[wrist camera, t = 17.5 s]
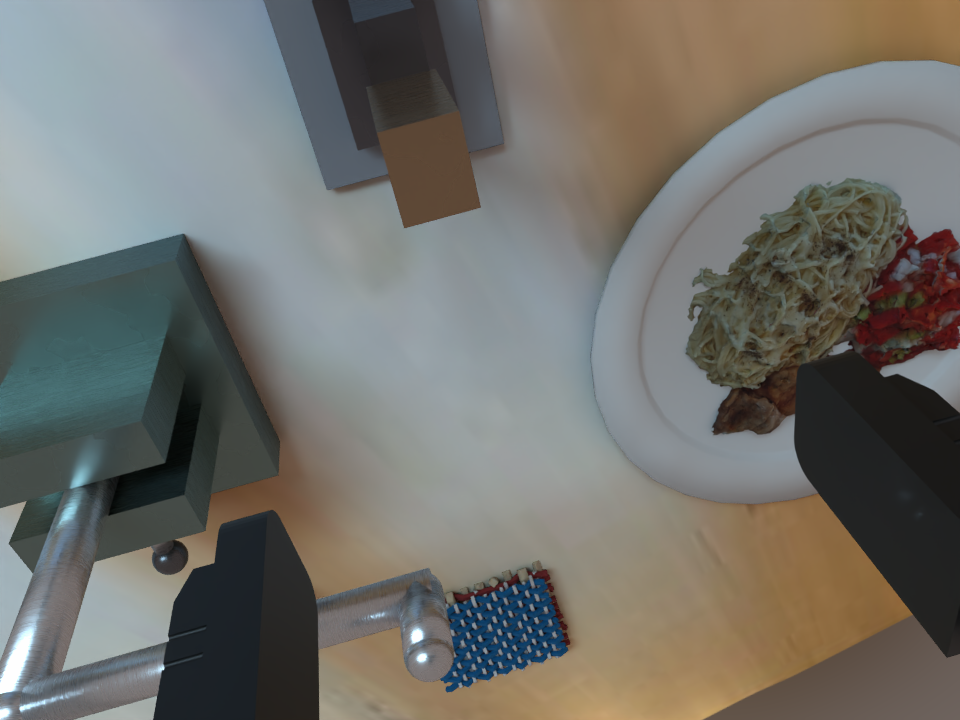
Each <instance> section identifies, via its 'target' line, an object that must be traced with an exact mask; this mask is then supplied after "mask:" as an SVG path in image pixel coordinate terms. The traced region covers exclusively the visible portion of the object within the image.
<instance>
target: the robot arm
mask: <svg viewBox="0 0 960 720" xmlns="http://www.w3.org/2000/svg"><path fill="white" fill-rule="evenodd" d="M794 446H795V451H796V455H797V458H798V461H799V464H800V466H801V468H802V470H803V472H804V474H805V476H806V477H807V479H808V480H809V482H810V483H811V484H812V486H813V487H814V488H815V489H816V491H817V492H818V493H819V494H820V496H821V497H822V498H823V500H824V501H825V502H826V503H827V505H828V506H829V507H830V509H831V510H832V511H833V512H834V514H835V515H836V516H837V518H838V519H839V520H840V521H841V523H842V524H843V525H844V527H845V528H846V529H847V530H848V532H849V533H850V534H851V536H852V537H853V538H854V539H855V541H856V542H857V543H858V544H859V546H860V547H861V548H862V550H863V551H864V552H865V553H866V555H867V556H868V557H869V559H870V560H871V561H872V562H873V564H874V565H875V566H876V568H877V569H878V570H879V571H880V573H881V574H882V575H883V577H884V578H885V579H886V580H887V582H888V583H889V584H890V585H891V587H892V588H893V589H894V591H895V592H896V593H897V594H898V596H899V597H900V598H901V600H902V601H903V602H904V603H905V605H906V606H907V607H908V609H909V610H910V611H911V612H912V614H913V615H914V616H915V618H916V619H917V620H918V621H919V622H920V624H921V625H922V626H923V628H924V629H925V630H926V632H927V633H928V634H929V635H930V637H931V638H932V639H933V641H934V642H935V643H936V644H937V646H938V647H939V648H940V650H941V651H942V652H943V653H944V654H945V656H946V657H951V656H954V655H958V654H960V413H959V412H958V411H957V410H956V409H955V408H954V407H952V406H951V405H950V404H949V403H948V402H947V401H946V400H945V399H943V398H942V397H941V396H940V395H939V394H938V393H937V392H935V391H934V390H932V389H930V388H928V387H926V386H924V385H921V384H919V383H917V382H915V381H913V380H910V379H908V378H906V377H904V376H902V375H900V374H894V375H891V376H887V377H884V376H883V375H881V374H880V373H879V372H878V371H877V370H876V369H875V368H874V367H873V366H872V365H871V364H870V363H869V362H868V361H867V360H865V359H864V358H863V357H862V356H861V355H860V354H858V353H857V352H854V351H847V352H843V353H839V354H836V355H832V356H829V357H825V358H821V359H818V360H814V361H811V362H807V363H804V364H801V365H800V366H799V368H798V371H797V377H796V400H795V424H794ZM168 637H169V642H167V644H166V650H165V656H164V661H163V664H164V670H162V673H161V678H160V684H159V690H158V695H157V701H156V707H155V712H154V718H153V720H319V659H318V611H317V604H316V598H315V594H314V590H313V586H312V583H311V580H310V578H309V575H308V573H307V571H306V569H305V567H304V565H303V563H302V561H301V559H300V557H299V555H298V553H297V551H296V549H295V547H294V545H293V543H292V541H291V539H290V537H289V535H288V533H287V531H286V529H285V527H284V525H283V523H282V521H281V519H280V518H279V516H278V515H277V513H276V512H275V511H273V510H270V511H266V512H263V513H259V514H255V515H252V516H248V517H245V518H241V519H237V520H234V521H230V522H227V523H223V524H222V525H221V526H220V529H219V533H218V540H217V547H216V555H215V563H213V564H210V565H206V566H203V567H199V568H196V569H193V570H192V572H191V574H190V576H189V577H188V579H187V581H186V582H185V584H184V586H183V588H182V589H181V591H180V593H179V594H178V596H177V598H176V599H175V601H174V605H173V610H172V616H171V622H170V627H169V633H168Z"/></svg>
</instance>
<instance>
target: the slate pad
mask: <svg viewBox="0 0 960 720" xmlns="http://www.w3.org/2000/svg"><path fill="white" fill-rule="evenodd" d="M264 2H265V5H266V8H267V11H268V14H269V17H270V20H271V23H272V26H273V29H274V32H275V35H276V38H277V41H278V44H279V47H280V50H281V53H282V56H283V59H284V62H285V65H286V68H287V71H288V74H289V77H290V80H291V83H292V86H293V89H294V92H295V95H296V98H297V101H298V104H299V107H300V110H301V113H302V116H303V119H304V122H305V125H306V128H307V131H308V134H309V137H310V140H311V143H312V146H313V149H314V152H315V155H316V158H317V161H318V164H319V167H320V170H321V173H322V176H323V179H324V182H325V185H326V188H327V190H330V189H334V188H338V187H341V186H345V185H349V184H353V183H357V182H360V181H364V180H368V179H372V178H376V177H379V176H383V175H387V174H388V170H387V167H386V163H385V160H384V156H383V153H382V149H381V146H380V145H377V146H373V147H370V148H366V149H362V150H359V151H358V150H357V146H356V143H355V140H354V137H353V134H352V130H351V127H350V124H349V121H348V117H347V114H346V111H345V108H344V104H343V101H342V98H341V95H340V91H339V88H338V85H337V82H336V78H335V75H334V72H333V69H332V65H331V62H330V59H329V56H328V52H327V49H326V46H325V43H324V39H323V36H322V33H321V30H320V26H319V23H318V20H317V17H316V13H315V10H314V7H313V4H312V0H264ZM434 3H435V7H436V12H437V16H438V21H439V25H440V30H441V34H442V38H443V43H444V47H445V52H446V56H447V61H448V65H449V70H450V74H451V79H452V83H453V88H454V92H455V96H456V101H457V105H458V110H459V112H460V117H461V121H462V126H463V130H464V135H465V139H466V144H467V148H468V153H470V152H474V151H478V150H482V149H486V148H489V147H493V146H497V145H501V144H504V141H503V136H502V130H501V125H500V120H499V114H498V109H497V104H496V99H495V93H494V88H493V83H492V77H491V72H490V67H489V61H488V56H487V51H486V45H485V40H484V35H483V29H482V24H481V19H480V13H479V8H478V3H477V0H434Z"/></svg>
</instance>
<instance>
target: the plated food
mask: <svg viewBox="0 0 960 720" xmlns="http://www.w3.org/2000/svg"><path fill="white" fill-rule="evenodd" d="M847 351H854V352H857V353H858V354H860V355H861V356H862V357H863V358H864V359H865V360H867V361H868V362H869V363H870V364H871V365H872V366H873V367H874V368H875V369H876V370H877V371H878V372H879V373H880V374H881V375H883V376H884V377H887V376H891V375H894V374H900V375H902V376H904V377H906V378H908V379H910V380H913V381H915V382H917V383H919V384H921V385H924V386H926V387H928V388H930V389H932V390H934V391H935V392H937V393H938V394H939V395H940V396H941V397H942V398H943V399H945V400H946V401H947V402H948V403H949V404H950V405H951V406H952V407H954V408H955V409H956V410H957V411H958V412H959V413H960V66H956V65H952V64H948V63H943V62H939V61H935V60H907V61H878V62H874V63H870V64H866V65H861V66H857V67H853V68H849V69H845V70H840V71H836V72H832V73H828V74H824V75H822V76H819V77H817V78H815V79H813V80H810V81H808V82H806V83H804V84H801V85H799V86H797V87H795V88H792V89H790V90H788V91H786V92H783V93H781V94H779V95H776V96H774V97H772V98H770V99H768V100H767V101H765V102H763V103H762V104H760V105H759V106H757V107H756V108H754V109H753V110H751V111H750V112H748V113H747V114H745V115H744V116H742V117H741V118H739V119H738V120H736V121H735V122H733V123H732V124H730V125H729V126H727V127H726V128H724V129H723V130H721V131H720V132H718V133H717V134H716V135H715V136H714V137H713V138H711V139H710V140H709V141H708V142H707V143H706V144H705V145H704V146H703V147H702V148H701V149H699V150H698V151H697V152H696V153H695V154H694V155H693V156H692V157H691V158H690V159H689V160H687V161H686V162H685V163H684V164H683V165H682V166H681V167H680V168H679V169H678V170H677V171H675V172H674V173H673V174H672V176H671V177H670V178H669V179H668V181H667V182H666V183H665V184H664V186H663V187H662V188H661V190H660V191H659V192H658V193H657V195H656V196H655V197H654V198H653V200H652V201H651V202H650V203H649V205H648V206H647V207H646V209H645V210H644V211H643V212H642V214H641V215H640V216H639V217H638V219H637V220H636V222H635V224H634V225H633V227H632V229H631V231H630V233H629V235H628V236H627V238H626V240H625V242H624V244H623V246H622V247H621V249H620V251H619V253H618V255H617V257H616V258H615V260H614V262H613V264H612V266H611V268H610V271H609V274H608V277H607V280H606V283H605V286H604V289H603V292H602V295H601V298H600V301H599V304H598V307H597V310H596V313H595V321H594V330H593V339H592V347H591V356H590V358H591V367H592V375H593V384H594V393H595V398H596V400H597V403H598V405H599V408H600V411H601V413H602V416H603V418H604V421H605V424H606V426H607V429H608V431H609V433H610V434H611V436H612V437H613V438H614V440H615V441H616V442H617V444H618V445H619V446H620V448H621V449H622V451H623V452H624V453H625V455H626V456H627V457H628V459H629V460H630V461H631V462H633V463H634V464H635V465H636V466H638V467H639V468H640V469H641V470H643V471H644V472H645V473H646V474H648V475H649V476H650V477H651V478H653V479H654V480H655V481H657V482H659V483H661V484H663V485H666V486H668V487H670V488H672V489H674V490H676V491H678V492H681V493H683V494H685V495H688V496H693V497H697V498H702V499H706V500H710V501H715V502H719V503H741V504H762V503H770V502H778V501H787V500H795V499H799V498H802V497H806V496H810V495H814V494H818V492H817V491H816V489H815V488H814V487H813V486H812V484H811V483H810V482H809V480H808V479H807V477H806V476H805V474H804V472H803V470H802V468H801V466H800V464H799V461H798V458H797V455H796V451H795V446H794V424H795V400H796V377H797V371H798V368H799V366H800V365H801V364H804V363H807V362H811V361H814V360H818V359H821V358H825V357H829V356H832V355H836V354H839V353H843V352H847Z"/></svg>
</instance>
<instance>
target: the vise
mask: <svg viewBox="0 0 960 720" xmlns="http://www.w3.org/2000/svg"><path fill="white" fill-rule="evenodd" d="M279 451H280V441H279V439H278V437H277V435H276V432H275V430H274V428H273V426H272V424H271V422H270V419H269V417H268V415H267V413H266V411H265V409H264V407H263V404H262V402H261V400H260V398H259V396H258V394H257V391H256V389H255V387H254V385H253V383H252V381H251V378H250V376H249V374H248V372H247V370H246V368H245V365H244V363H243V361H242V359H241V357H240V355H239V353H238V350H237V348H236V346H235V344H234V342H233V340H232V337H231V335H230V333H229V331H228V329H227V327H226V324H225V322H224V320H223V318H222V316H221V314H220V312H219V309H218V307H217V305H216V303H215V301H214V299H213V296H212V294H211V292H210V290H209V288H208V286H207V283H206V281H205V279H204V277H203V275H202V273H201V271H200V268H199V266H198V264H197V262H196V260H195V258H194V255H193V253H192V251H191V249H190V247H189V245H188V242H187V240H186V238H185V236H184V234H181V235H177V236H173V237H169V238H166V239H162V240H158V241H154V242H151V243H147V244H143V245H139V246H135V247H132V248H128V249H124V250H120V251H116V252H113V253H109V254H105V255H101V256H98V257H94V258H90V259H86V260H82V261H79V262H75V263H71V264H67V265H63V266H60V267H56V268H52V269H48V270H45V271H41V272H37V273H33V274H29V275H26V276H22V277H18V278H14V279H10V280H7V281H3V282H0V508H2V507H6V506H10V505H13V504H17V503H21V502H24V501H27V502H26V504H25V507H24V509H23V511H22V514H21V516H20V518H19V521H18V523H17V525H16V528H15V530H14V532H13V535H12V537H11V539H10V542H9V545H10V546H11V547H12V548H13V549H14V551H15V552H16V553H17V554H18V556H19V557H20V558H21V559H22V561H23V562H24V563H25V564H26V565H27V567H28V568H29V569H30V570H31V572H32V573H33V576H32V578H31V581H30V584H29V586H28V589H27V592H26V594H25V597H24V600H23V602H22V605H21V608H20V610H19V613H18V616H17V618H16V621H15V624H14V626H13V629H12V632H11V634H10V637H9V639H8V642H7V645H6V647H5V650H4V653H3V655H2V658H1V661H0V720H74V719H77V718H81V717H84V716H88V715H91V714H95V713H98V712H102V711H105V710H109V709H112V708H116V707H119V706H123V705H126V704H130V703H133V702H137V701H140V700H144V699H147V698H151V697H154V696H157V695H158V690H159V684H160V678H161V673H162V670H164V664H163V661H164V656H165V650H166V644H167V642H165V643H161V644H158V645H154V646H151V647H147V648H144V649H140V650H137V651H133V652H130V653H126V654H123V655H119V656H116V657H112V658H108V659H105V660H101V661H98V662H94V663H91V664H87V665H84V666H80V667H77V668H73V669H70V670H66V671H63V672H62V669H63V665H64V662H65V658H66V655H67V652H68V648H69V645H70V642H71V638H72V635H73V632H74V628H75V625H76V621H77V618H78V615H79V611H80V608H81V605H82V601H83V598H84V595H85V591H86V588H87V585H88V581H89V578H90V574H91V571H92V568H93V564H94V562H96V561H99V560H103V559H107V558H110V557H114V556H117V555H121V554H125V553H128V552H132V551H135V550H139V549H143V548H146V547H150V546H151V548H152V549H153V551H154V552H153V555H152V563H153V566H154V567H155V569H156V570H157V571H158V572H160V573H162V574H165V575H172V574H175V573H178V572H179V571H181V570H182V569H183V568H184V567H185V565H186V564H187V561H188V551H187V548H186V547H185V545H184V544H183V543H181V542H179V541H177V540H175V539H178V538H182V537H186V536H189V535H193V534H196V533H200V532H204V531H206V524H207V517H208V511H209V504H210V497H211V494H212V493H216V492H219V491H223V490H227V489H230V488H234V487H238V486H241V485H245V484H248V483H252V482H256V481H259V480H263V479H266V478H270V477H274V476H277V475H278V472H279ZM316 604H317V611H318V650H319V649H322V648H326V647H329V646H333V645H336V644H340V643H343V642H347V641H350V640H354V639H357V638H361V637H364V636H368V635H371V634H375V633H378V632H382V631H385V630H389V629H392V628H396V627H399V626H400V630H401V638H402V647H403V655H404V662H405V666H406V668H407V670H408V671H409V673H410V674H411V675H412V676H413V677H415V678H416V679H418V680H420V681H424V682H434V681H437V680H439V679H441V678H442V677H444V676H445V675H446V674H447V673H448V672H449V670H450V669H451V667H452V664H453V661H454V647H453V642H452V636H451V631H450V625H449V620H448V614H447V609H446V603H445V597H444V592H443V588H442V585H441V583H440V581H439V580H438V579H437V578H436V577H435V576H434V575H433V574H431V571H430V569H429V568H426V569H423V570H419V571H416V572H412V573H408V574H405V575H401V576H398V577H394V578H391V579H387V580H384V581H380V582H377V583H373V584H370V585H366V586H363V587H359V588H356V589H352V590H348V591H345V592H341V593H338V594H334V595H331V596H327V597H324V598H320V599H317V600H316ZM168 642H169V641H168Z"/></svg>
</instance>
